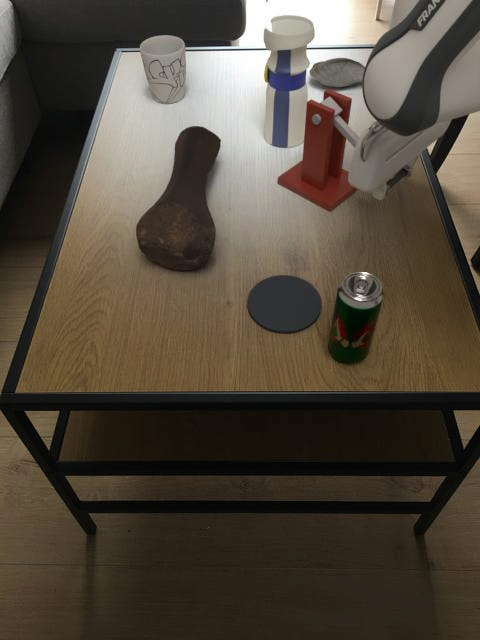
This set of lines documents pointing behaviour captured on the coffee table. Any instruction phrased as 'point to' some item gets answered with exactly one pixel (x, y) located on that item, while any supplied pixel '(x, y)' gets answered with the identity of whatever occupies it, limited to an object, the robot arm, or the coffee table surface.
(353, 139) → the lever
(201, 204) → the dark brown bone
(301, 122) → the water bottle
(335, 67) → the seashell
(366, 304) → the soda can
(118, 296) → the coffee table surface
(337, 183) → the bracket
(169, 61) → the mug
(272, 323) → the coaster
